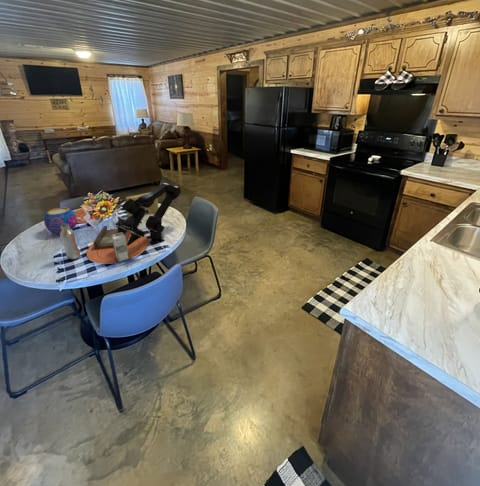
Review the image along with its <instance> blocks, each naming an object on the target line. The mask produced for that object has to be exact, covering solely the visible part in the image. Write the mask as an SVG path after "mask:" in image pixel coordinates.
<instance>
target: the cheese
mask: <svg viewBox="0 0 480 486" xmlns="http://www.w3.org/2000/svg"><path fill="white" fill-rule="evenodd" d="M151 192H152V191H149V192H145V193H141V194H136V195H130V196H127V197H125V202H126V201H128V200H129V199H132V200H134V201H135V200H137V199H138V198H139V197H140V196H142V195H145V194H149V193H151ZM140 207H141V206H140ZM159 207H160V206H159V200H158V198H157V199H155V200H154V203H153V204H152V205H151V206H150V207H149V208H146V207H142V208H146V209H148V212H149V214H147V213H145V215H152V214H155V213H156V211H157V210H158V208H159ZM126 215H127V218H128V217H129V216H132V214H130V213H128V212H127V211H126Z"/></svg>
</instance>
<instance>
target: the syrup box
mask: <svg viewBox="0 0 480 486" xmlns="http://www.w3.org/2000/svg"><path fill="white" fill-rule="evenodd" d="M111 236H112V240H113V245H114V247H113V249H114V253H115V258H116V260H117V262H118V263H121V262H124V261H127V260H130V254H129V247H128V246H127V243H128V242H127V241H126V238H125V235H124V234H123V232H121V233H117V234H114V235H111Z"/></svg>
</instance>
